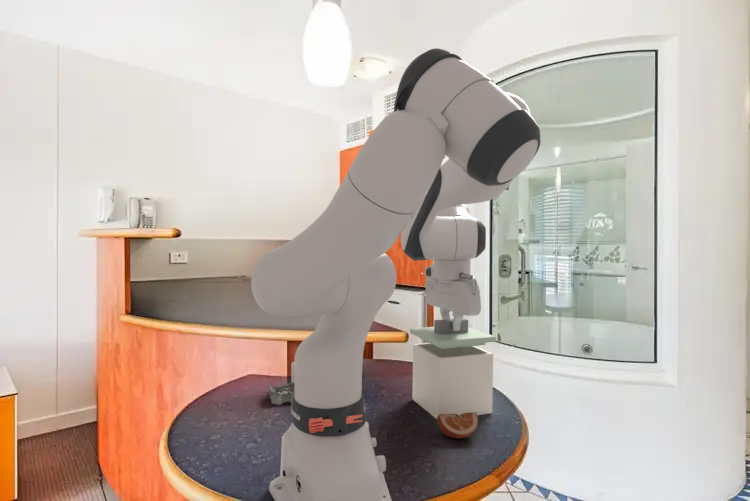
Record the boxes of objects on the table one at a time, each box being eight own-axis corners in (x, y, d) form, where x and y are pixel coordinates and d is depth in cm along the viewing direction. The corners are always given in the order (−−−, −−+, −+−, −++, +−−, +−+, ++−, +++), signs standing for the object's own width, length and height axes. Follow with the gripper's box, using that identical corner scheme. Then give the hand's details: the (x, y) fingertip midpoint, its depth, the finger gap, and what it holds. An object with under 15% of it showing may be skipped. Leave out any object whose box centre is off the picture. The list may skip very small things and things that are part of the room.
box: (492, 413, 99) (493, 353, 99) (439, 421, 95) (439, 358, 94) (460, 392, 112) (461, 340, 112) (412, 399, 108) (413, 344, 107)
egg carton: (309, 392, 113) (309, 376, 113) (314, 402, 106) (314, 386, 106) (268, 396, 110) (268, 380, 109) (270, 406, 102) (270, 390, 102)
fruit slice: (470, 428, 91) (470, 405, 91) (484, 443, 84) (484, 418, 84) (433, 431, 89) (433, 408, 89) (444, 446, 83) (444, 421, 83)
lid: (495, 346, 99) (496, 323, 99) (438, 351, 94) (438, 327, 93) (461, 333, 113) (461, 313, 113) (409, 336, 108) (410, 316, 108)
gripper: (488, 274, 94) (487, 336, 94) (442, 269, 113) (442, 320, 114) (463, 275, 92) (462, 338, 92) (421, 269, 111) (420, 321, 111)
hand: (451, 328), depth 103 cm, fingers closed on lid, 2 cm apart
